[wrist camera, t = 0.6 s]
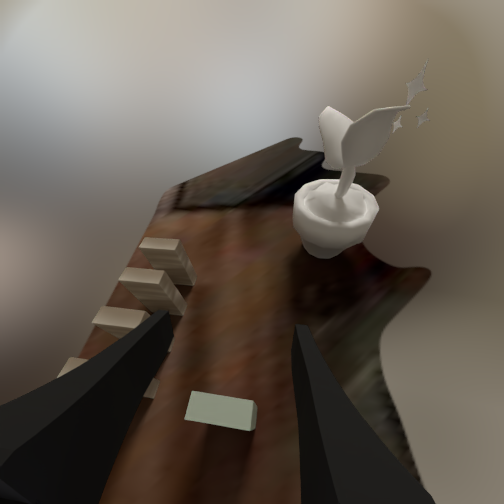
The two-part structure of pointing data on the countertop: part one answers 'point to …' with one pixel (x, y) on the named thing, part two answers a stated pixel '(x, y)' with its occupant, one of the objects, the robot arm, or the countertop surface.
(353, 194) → the potted plant
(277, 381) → the countertop surface
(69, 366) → the domino
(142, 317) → the domino
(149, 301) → the domino
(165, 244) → the domino
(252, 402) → the domino
